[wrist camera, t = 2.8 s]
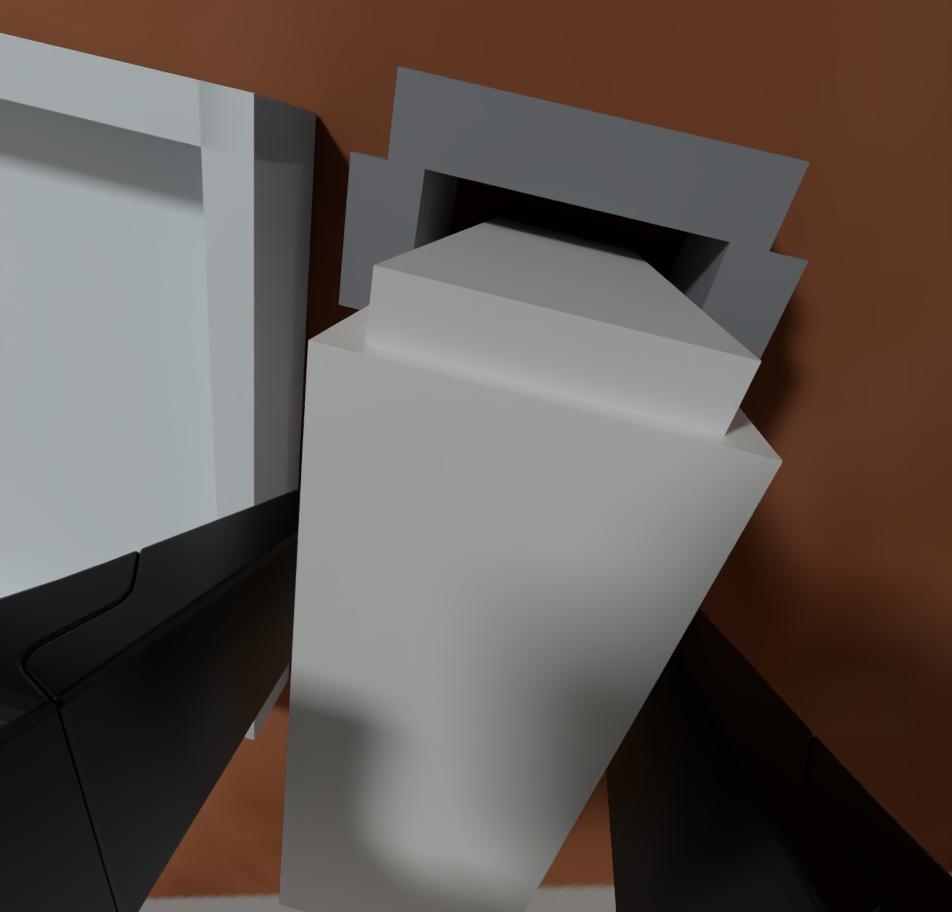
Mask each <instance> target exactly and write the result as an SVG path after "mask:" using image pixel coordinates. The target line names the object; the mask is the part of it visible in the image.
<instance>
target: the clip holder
mask: <svg viewBox="0 0 952 912" xmlns="http://www.w3.org/2000/svg"><path fill="white" fill-rule="evenodd" d="M809 163H810V162H808V161H803V160H799V159H795V158H791V157H786V156H782V155H778V154H773V153H769V152H765V151H760V150H756V149H752V148H748V147H743V146H739V145H735V144H730V143H726V142H722V141H717V140H713V139H709V138H705V137H700V136H696V135H692V134H687V133H683V132H679V131H674V130H670V129H666V128H662V127H657V126H653V125H649V124H644V123H640V122H636V121H631V120H627V119H623V118H619V117H614V116H610V115H606V114H601V113H597V112H593V111H588V110H584V109H580V108H576V107H571V106H567V105H563V104H558V103H554V102H550V101H545V100H541V99H537V98H533V97H528V96H524V95H520V94H515V93H511V92H507V91H502V90H498V89H494V88H490V87H485V86H481V85H477V84H472V83H468V82H464V81H460V80H455V79H451V78H447V77H442V76H438V75H434V74H429V73H425V72H421V71H417V70H412V69H408V68H404V67H399V66H398V70H397V79H396V89H395V98H394V107H393V116H392V125H391V135H390V144H389V153H388V158H383V157H378V156H373V155H368V154H363V153H357V152H352V151H351V154H350V167H349V180H348V192H347V205H346V218H345V231H344V244H343V256H342V269H341V282H340V295H339V305H342V306H346V307H350V308H354V309H358V310H361V309H363V308H365V307H366V306H368V305H369V304H370V294H371V285H372V276H373V266H374V265H375V264H378V263H380V262H383V261H386V260H388V259H391V258H393V257H396V256H399V255H401V254H404V253H406V252H409V251H411V250H414V249H417V248H419V247H422V246H424V245H427V244H430V243H432V242H435V241H437V240H440V239H443V238H445V237H448V236H449V234H450V228H451V222H452V216H453V210H454V204H455V198H456V192H457V187H458V181H459V177H460V178H465V179H469V180H473V181H477V182H481V183H485V184H490V185H494V186H498V187H502V188H506V189H510V190H515V191H519V192H523V193H527V194H531V195H536V196H540V197H544V198H548V199H552V200H556V201H561V202H565V203H569V204H573V205H577V206H581V207H586V208H590V209H594V210H598V211H602V212H606V213H611V214H615V215H619V216H623V217H627V218H631V219H636V220H640V221H644V222H648V223H652V224H656V225H661V226H665V227H669V228H673V229H677V230H682V231H686V232H687V234H686V236H685V239H684V242H683V244H682V247H681V250H680V252H679V255H678V258H677V260H676V263H675V265H674V268H673V271H672V273H671V276H670V279H669V282H670V283H671V284H672V285H673V286H675V287H676V288H677V289H678V290H679V291H680V292H682V293H683V294H684V295H685V296H686V297H687V298H689V299H690V300H691V301H692V302H693V303H694V304H695V305H697V306H698V307H699V308H700V309H701V310H702V311H704V312H705V313H706V314H707V315H708V316H709V317H711V318H712V319H713V320H714V321H715V322H716V323H718V324H719V325H720V326H721V327H722V328H723V329H724V330H726V331H727V332H728V333H729V334H730V335H731V336H733V337H734V338H735V339H736V340H737V341H738V342H740V343H741V344H742V345H743V346H744V347H745V348H746V349H748V350H749V351H750V352H751V353H752V354H753V355H755V356H756V357H757V358H758V359H759V360H760V358H761V356H762V354H763V352H764V350H765V348H766V346H767V344H768V342H769V340H770V338H771V336H772V334H773V332H774V330H775V328H776V326H777V324H778V322H779V320H780V318H781V316H782V314H783V312H784V310H785V308H786V305H787V303H788V301H789V299H790V297H791V295H792V293H793V291H794V289H795V287H796V285H797V283H798V281H799V279H800V277H801V275H802V273H803V271H804V269H805V267H806V265H807V263H808V261H807V260H803V259H800V258H796V257H793V256H789V255H786V254H782V253H778V252H775V251H771V250H770V249H771V246H772V244H773V242H774V240H775V238H776V235H777V233H778V231H779V229H780V227H781V224H782V222H783V220H784V218H785V216H786V213H787V211H788V209H789V207H790V205H791V202H792V200H793V198H794V196H795V194H796V191H797V189H798V187H799V185H800V183H801V180H802V178H803V176H804V174H805V172H806V169H807V167H808V165H809Z"/></svg>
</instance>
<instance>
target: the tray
mask: <svg viewBox="0 0 952 912" xmlns="http://www.w3.org/2000/svg"><path fill="white" fill-rule="evenodd" d="M315 129H316V113H314V112H311V111H308V110H305V109H302V108H299V107H295V106H292V105H289V104H286V103H283V102H280V101H277V100H273V99H270V98H267V97H264V96H261V95H258V94H255V93H251V92H247V91H242V90H238V89H234V88H230V87H225V86H221V85H217V84H213V83H209V82H204V81H200V80H196V79H192V78H187V77H183V76H179V75H175V74H171V73H166V72H162V71H158V70H154V69H150V68H145V67H141V66H137V65H133V64H128V63H124V62H120V61H116V60H112V59H107V58H103V57H99V56H95V55H90V54H86V53H82V52H78V51H74V50H69V49H65V48H61V47H57V46H52V45H48V44H44V43H40V42H36V41H31V40H27V39H23V38H19V37H15V36H10V35H6V34H2V33H0V598H2V597H5V596H8V595H11V594H14V593H18V592H21V591H24V590H27V589H30V588H33V587H36V586H39V585H42V584H45V583H48V582H51V581H54V580H57V579H60V578H63V577H66V576H69V575H71V574H74V573H77V572H80V571H82V570H85V569H88V568H91V567H93V566H96V565H99V564H102V563H104V562H107V561H110V560H112V559H115V558H118V557H120V556H123V555H125V554H128V553H131V552H133V551H138V552H139V553H140V550H141V549H142V548H144V547H147V546H149V545H152V544H155V543H157V542H160V541H163V540H165V539H168V538H170V537H173V536H176V535H178V534H181V533H184V532H186V531H189V530H191V529H194V528H197V527H199V526H202V525H204V524H207V523H210V522H212V521H215V520H218V519H220V518H223V517H225V516H228V515H231V514H233V513H236V512H238V511H241V510H244V509H246V508H249V507H252V506H254V505H257V504H259V503H262V502H265V501H267V500H270V499H272V498H275V497H278V496H280V495H283V494H286V493H288V492H291V491H293V490H296V489H298V478H299V458H300V437H301V417H302V396H303V376H304V355H305V335H306V314H307V294H308V273H309V253H310V232H311V212H312V191H313V171H314V150H315ZM289 663H290V662H289ZM288 679H289V664H288V666H287V667H286V669H285V671H284V672H283V674H282V676H281V677H280V679H279V681H278V682H277V684H276V686H275V687H274V689H273V691H272V692H271V694H270V695H269V697H268V699H267V700H266V702H265V704H264V705H263V707H262V709H261V710H260V712H259V714H258V715H257V717H256V719H255V720H254V722H253V723H252V725H251V727H250V728H249V730H248V732H247V733H246V735H245V738H248V739H252V740H255V738H256V736H257V734H258V732H259V731H260V729H261V727H262V725H263V724H264V722H265V720H266V718H267V717H268V715H269V713H270V711H271V709H272V708H273V706H274V704H275V702H276V701H277V699H278V697H279V695H280V694H281V692H282V690H283V688H284V686H285V685H286V683H287V681H288Z"/></svg>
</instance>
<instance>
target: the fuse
mask: <svg viewBox="0 0 952 912" xmlns="http://www.w3.org/2000/svg"><path fill="white" fill-rule="evenodd" d="M760 363H761V361H760V360H759V359H758V358H757V357H756V356H755V355H753V354H752V353H751V352H750V351H749V350H748V349H746V348H745V347H744V346H743V345H742V344H741V343H740V342H738V341H737V340H736V339H735V338H734V337H733V336H731V335H730V334H729V333H728V332H727V331H726V330H724V329H723V328H722V327H721V326H720V325H719V324H718V323H716V322H715V321H714V320H713V319H712V318H711V317H709V316H708V315H707V314H706V313H705V312H704V311H702V310H701V309H700V308H699V307H698V306H697V305H695V304H694V303H693V302H692V301H691V300H690V299H689V298H687V297H686V296H685V295H684V294H683V293H682V292H680V291H679V290H678V289H677V288H676V287H675V286H673V285H672V284H671V283H670V282H669V281H668V280H667V279H665V278H664V277H663V276H662V275H661V274H660V273H658V272H657V271H656V270H655V269H654V268H653V267H651V266H650V265H649V264H648V263H647V262H646V261H644V260H643V259H642V258H641V257H640V256H639V255H638V254H636V253H635V252H634V251H633V250H630V249H626V248H622V247H618V246H614V245H610V244H605V243H601V242H597V241H593V240H589V239H585V238H581V237H577V236H572V235H568V234H564V233H560V232H556V231H552V230H548V229H544V228H539V227H535V226H531V225H527V224H523V223H519V222H515V221H511V220H506V219H502V218H498V217H497V218H494V219H492V220H489V221H486V222H484V223H481V224H479V225H476V226H474V227H471V228H468V229H466V230H463V231H461V232H458V233H455V234H453V235H450V236H448V237H445V238H443V239H440V240H437V241H435V242H432V243H430V244H427V245H424V246H422V247H419V248H417V249H414V250H411V251H409V252H406V253H404V254H401V255H399V256H396V257H393V258H391V259H388V260H386V261H383V262H380V263H378V264H375V265H374V266H373V276H372V285H371V294H370V304H369V305H368V306H366V307H365V308H363V309H361V310H360V311H358V312H356V313H354V314H353V315H351V316H349V317H348V318H346V319H344V320H342V321H341V322H339V323H337V324H335V325H334V326H332V327H330V328H329V329H327V330H325V331H323V332H322V333H320V334H318V335H317V336H315V337H313V338H311V339H310V340H308V356H307V376H306V395H305V415H304V434H303V453H302V473H301V492H300V512H299V531H298V550H297V570H296V589H295V609H294V628H293V647H292V667H291V686H290V706H289V725H288V744H287V764H286V783H285V803H284V822H283V841H282V861H281V880H280V900H279V904H280V905H284V906H287V907H290V908H294V909H297V910H301V911H304V912H524V911H525V909H526V907H527V906H528V904H529V902H530V900H531V899H532V897H533V895H534V893H535V892H536V890H537V888H538V887H539V885H540V883H541V881H542V880H543V878H544V876H545V874H546V873H547V871H548V869H549V867H550V866H551V864H552V862H553V860H554V859H555V857H556V855H557V853H558V852H559V850H560V848H561V846H562V845H563V843H564V841H565V840H566V838H567V836H568V834H569V833H570V831H571V829H572V827H573V826H574V824H575V822H576V820H577V819H578V817H579V815H580V813H581V812H582V810H583V808H584V806H585V805H586V803H587V801H588V800H589V798H590V796H591V794H592V793H593V791H594V789H595V787H596V786H597V784H598V782H599V780H600V779H601V777H602V775H603V773H604V772H605V770H606V768H607V766H608V765H609V763H610V761H611V759H612V758H613V756H614V754H615V753H616V751H617V749H618V747H619V746H620V744H621V742H622V740H623V739H624V737H625V735H626V733H627V732H628V730H629V728H630V726H631V725H632V723H633V721H634V719H635V718H636V716H637V714H638V713H639V711H640V709H641V707H642V706H643V704H644V702H645V700H646V699H647V697H648V695H649V693H650V692H651V690H652V688H653V686H654V685H655V683H656V681H657V679H658V678H659V676H660V674H661V672H662V671H663V669H664V667H665V666H666V664H667V662H668V660H669V659H670V657H671V655H672V653H673V652H674V650H675V648H676V646H677V645H678V643H679V641H680V639H681V638H682V636H683V634H684V632H685V631H686V629H687V627H688V626H689V624H690V622H691V620H692V619H693V617H694V615H695V613H696V612H697V610H698V608H699V606H700V605H701V603H702V601H703V599H704V598H705V596H706V594H707V592H708V591H709V589H710V587H711V585H712V584H713V582H714V580H715V579H716V577H717V575H718V573H719V572H720V570H721V568H722V566H723V565H724V563H725V561H726V559H727V558H728V556H729V554H730V552H731V551H732V549H733V547H734V545H735V544H736V542H737V540H738V539H739V537H740V535H741V533H742V532H743V530H744V528H745V526H746V525H747V523H748V521H749V519H750V518H751V516H752V514H753V512H754V511H755V509H756V507H757V505H758V504H759V502H760V500H761V498H762V497H763V495H764V493H765V492H766V490H767V488H768V486H769V485H770V483H771V481H772V479H773V478H774V476H775V474H776V472H777V471H778V469H779V467H780V465H781V464H782V462H783V461H782V460H781V458H780V457H779V456H778V455H777V453H776V452H775V451H774V450H773V449H772V447H771V446H770V445H769V444H768V442H767V441H766V440H765V439H764V437H763V436H762V435H761V434H760V432H759V431H758V430H757V429H756V428H755V426H754V425H753V424H752V423H751V421H750V420H749V419H748V418H747V416H746V415H745V414H744V413H743V411H742V410H741V409H740V408H739V406H740V404H741V402H742V400H743V398H744V396H745V394H746V392H747V390H748V388H749V385H750V383H751V381H752V379H753V377H754V375H755V373H756V371H757V369H758V367H759V365H760Z"/></svg>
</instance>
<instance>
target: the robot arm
mask: <svg viewBox="0 0 952 912" xmlns="http://www.w3.org/2000/svg"><path fill="white" fill-rule="evenodd" d="M300 492H301V488H299V489H296V490H293V491H291V492H288V493H286V494H283V495H280V496H278V497H275V498H272V499H270V500H267V501H265V502H262V503H259V504H257V505H254V506H252V507H249V508H246V509H244V510H241V511H238V512H236V513H233V514H231V515H228V516H225V517H223V518H220V519H218V520H215V521H212V522H210V523H207V524H204V525H202V526H199V527H197V528H194V529H191V530H189V531H186V532H184V533H181V534H178V535H176V536H173V537H170V538H168V539H165V540H163V541H160V542H157V543H155V544H152V545H149V546H147V547H144V548H142V549H141V550H140V553H139V552H138V551H133V552H131V553H128V554H125V555H123V556H120V557H118V558H115V559H112V560H110V561H107V562H104V563H102V564H99V565H96V566H93V567H91V568H88V569H85V570H82V571H80V572H77V573H74V574H71V575H69V576H66V577H63V578H60V579H57V580H54V581H51V582H48V583H45V584H42V585H39V586H36V587H33V588H30V589H27V590H24V591H21V592H18V593H14V594H11V595H8V596H5V597H2V598H0V912H138V911H139V910H140V908H141V907H142V905H143V903H144V902H145V900H146V898H147V897H148V895H149V893H150V892H151V890H152V888H153V887H154V885H155V883H156V882H157V880H158V879H159V877H160V875H161V874H162V872H163V870H164V869H165V867H166V865H167V864H168V862H169V860H170V859H171V857H172V855H173V854H174V852H175V850H176V849H177V847H178V846H179V844H180V842H181V841H182V839H183V837H184V836H185V834H186V832H187V831H188V829H189V827H190V826H191V824H192V822H193V821H194V819H195V817H196V816H197V814H198V813H199V811H200V809H201V808H202V806H203V804H204V803H205V801H206V799H207V798H208V796H209V794H210V793H211V791H212V789H213V788H214V786H215V785H216V783H217V781H218V780H219V778H220V776H221V775H222V773H223V771H224V770H225V768H226V766H227V765H228V763H229V761H230V760H231V758H232V756H233V755H234V753H235V752H236V750H237V748H238V747H239V745H240V743H241V742H242V740H243V738H244V737H245V735H246V733H247V732H248V730H249V728H250V727H251V725H252V723H253V722H254V720H255V719H256V717H257V715H258V714H259V712H260V710H261V709H262V707H263V705H264V704H265V702H266V700H267V699H268V697H269V695H270V694H271V692H272V691H273V689H274V687H275V686H276V684H277V682H278V681H279V679H280V677H281V676H282V674H283V672H284V671H285V669H286V667H287V666H288V664H289V662H290V661H291V659H292V647H293V628H294V609H295V589H296V570H297V550H298V531H299V512H300ZM606 775H607V789H608V803H609V817H610V831H611V845H612V859H613V873H614V887H615V901H616V912H952V876H951V875H950V874H949V873H948V872H947V871H946V870H945V869H944V868H943V867H942V866H941V865H940V864H938V863H937V862H936V861H935V860H934V859H933V858H932V857H931V856H930V855H929V854H928V853H927V852H926V851H925V850H924V849H923V848H922V847H921V846H920V845H919V844H918V843H917V842H916V841H915V839H914V838H913V837H912V836H911V835H910V834H909V833H908V832H907V831H906V830H905V829H904V828H903V827H902V826H901V825H900V824H899V823H898V822H897V821H896V820H895V819H894V818H893V817H892V816H891V815H890V814H889V813H888V812H887V811H886V810H885V809H884V808H883V807H882V806H881V805H880V804H879V803H878V802H877V801H876V800H875V799H874V798H873V797H872V796H871V795H870V794H869V792H868V791H867V790H866V789H865V788H864V787H863V786H862V785H861V784H860V783H859V782H858V781H857V780H856V779H855V778H854V776H853V775H852V774H851V773H850V772H849V771H848V770H847V769H846V768H845V767H844V766H843V765H842V764H841V763H840V762H839V760H838V759H837V758H836V757H835V756H834V755H833V754H832V753H831V752H830V751H829V749H828V748H827V747H826V746H825V745H824V744H823V743H822V742H821V741H820V740H819V738H817V737H812V731H811V730H810V729H809V728H808V727H807V726H806V724H805V723H804V722H803V721H802V720H801V719H800V718H799V717H798V716H797V715H796V713H795V712H794V711H793V710H792V709H791V708H790V707H789V706H788V705H787V704H786V702H785V701H784V700H783V699H782V698H781V697H780V696H779V695H778V694H777V693H776V692H775V690H774V689H773V688H772V687H771V686H770V685H769V684H768V683H767V682H766V681H765V679H764V678H763V677H762V676H761V675H760V674H759V673H758V672H757V671H756V670H755V668H754V667H753V666H752V665H751V664H750V663H749V662H748V661H747V660H746V659H745V658H744V656H743V655H742V654H741V653H740V652H739V651H738V650H737V649H736V648H735V647H734V645H733V644H732V643H731V642H730V641H729V640H728V639H727V638H726V637H725V636H724V635H723V633H722V632H721V631H720V630H719V629H718V628H717V627H716V626H715V625H714V624H713V622H712V621H711V620H710V619H709V618H708V617H707V616H706V615H705V614H704V613H703V611H702V610H701V609H700V608H698V610H697V612H696V613H695V615H694V617H693V619H692V620H691V622H690V624H689V626H688V627H687V629H686V631H685V632H684V634H683V636H682V638H681V639H680V641H679V643H678V645H677V646H676V648H675V650H674V652H673V653H672V655H671V657H670V659H669V660H668V662H667V664H666V666H665V667H664V669H663V671H662V672H661V674H660V676H659V678H658V679H657V681H656V683H655V685H654V686H653V688H652V690H651V692H650V693H649V695H648V697H647V699H646V700H645V702H644V704H643V706H642V707H641V709H640V711H639V713H638V714H637V716H636V718H635V719H634V721H633V723H632V725H631V726H630V728H629V730H628V732H627V733H626V735H625V737H624V739H623V740H622V742H621V744H620V746H619V747H618V749H617V751H616V753H615V754H614V756H613V758H612V759H611V761H610V763H609V765H608V766H607V768H606Z"/></svg>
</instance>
